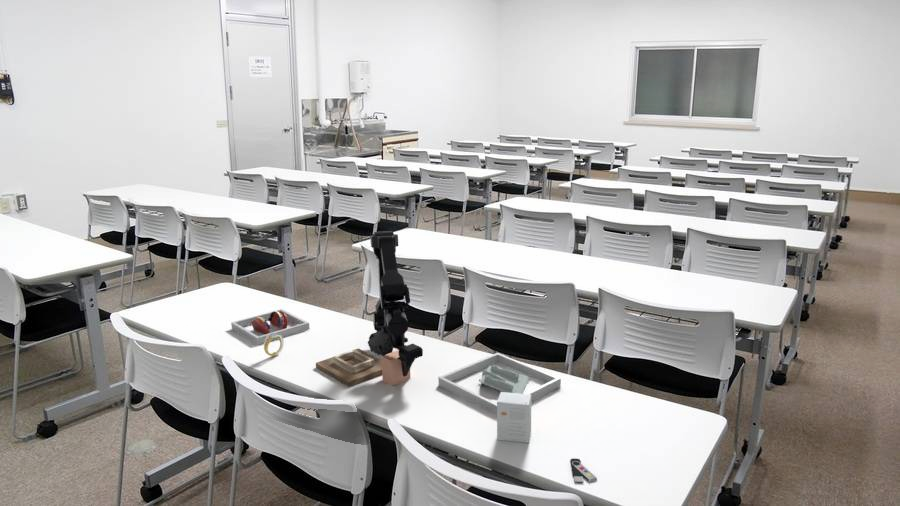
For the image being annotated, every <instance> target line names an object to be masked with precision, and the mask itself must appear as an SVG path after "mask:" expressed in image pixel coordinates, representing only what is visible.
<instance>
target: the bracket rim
mask: <svg viewBox="0 0 900 506" xmlns="http://www.w3.org/2000/svg"><path fill="white" fill-rule="evenodd" d="M496 363H500V364H501V365H504V366H506V367H509V368H511V369H512V370H513V369H514V370H515V371H518V372H521V373H523V374H526V375H528V376H529V377H532V378H535V379H537V380H539V381H543V382H545V383H544V384H542V385H540V386H538V387H536V388H534V389H532V390H529V391H528V392H526V393H525V394H531V402H533V401H535V400H537V399H539V398H541V397H542V396H544V395H546V394H548V393H551V392H552V391H555V390H556V389H558V388H560V387H561V383H562V382H561V380H562V379H561V378H560V377H559V376H556V375H554V374H551V373H549V372H546V371H543V370H542V369H538V368H536V367H533V366H531V365H529V364H526V363H525V362H522V361H519V360H517V359H514V358H512V357H509V356H507V355H504V354H502V353H499V352H496V353H493V354H492V355H489V356H486V357H484V358H481V359H478V360H477V361H475V362H472V363H469V364H467V365H465V366H463V367H459V368H458V369H455V370H452V371H451V372H448V373H445V374H444V375H441V376H438V378H437V379H438V380H437V381H438V382H437V383H438V386H439V387H441V388H443V389H445V390H447V391H450V392H451V393H453V394H455V395H457V396H459V397H461V398H464V399H465V400H467V401H469V402H471V403H474V404H475V405H477V406H479V407H481V408H483V409H485V410H486V411H489V412H491V413H493V414H495V415H497V402H494V401H492V400H491V399H489V398H486V397H484V396H482V395H480V394H478V393H476V392H474V391H472V390H470V389H468V388H466V387H464V386H462V385H459V384H458V383H456V382H454V381H456V380H458V379H461V378H464V377H465V376H469V375H470V374H472V373H475V372H477V371H478V372H479V371H480V370H483V369H484V368H488V367H489V366H492V365H493V364H496Z"/></svg>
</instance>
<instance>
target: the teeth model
mask: <svg viewBox="0 0 900 506" xmlns="http://www.w3.org/2000/svg"><path fill="white" fill-rule="evenodd" d="M273 311H274V312H272V311H270V312H271V315H270V317H269V319H268V320H266V321H265V319H264V320H263V318H262V317H257V318H256V319H255V320H254V321H252V322H251V323H252V325H251V326H252V328H253V330H254V331H256V332H258V333H260V334H261V335H265V334H269V333H271V331H270V330H271V328H272V327H271V325H273V326H277V327H278V328H279V329H280V330H282V329H286V328H288V321H289V320H288V319H287V315H286V314H285V313H284V312H277V311H276V310H273ZM268 322H269V323H270V324H271V325H270V324H269V323H268Z"/></svg>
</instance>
